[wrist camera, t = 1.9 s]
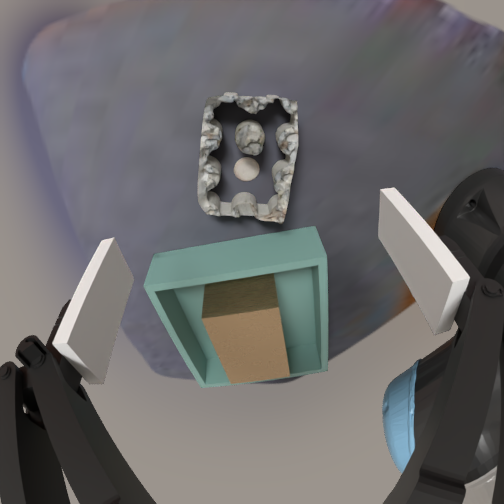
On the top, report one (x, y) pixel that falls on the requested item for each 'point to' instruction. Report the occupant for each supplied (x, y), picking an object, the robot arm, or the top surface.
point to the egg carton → (247, 159)
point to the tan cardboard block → (246, 328)
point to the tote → (240, 266)
